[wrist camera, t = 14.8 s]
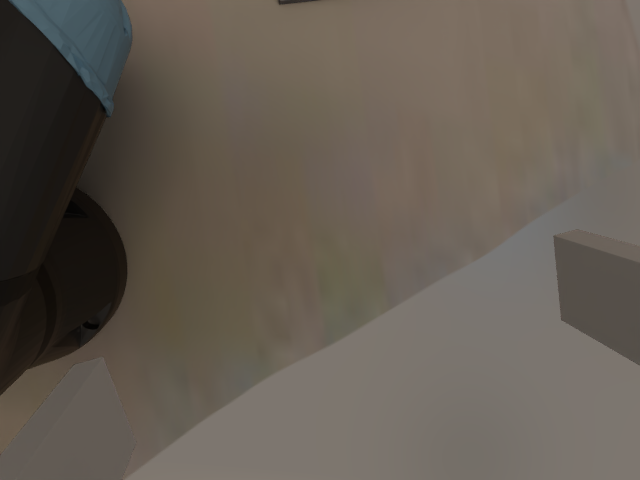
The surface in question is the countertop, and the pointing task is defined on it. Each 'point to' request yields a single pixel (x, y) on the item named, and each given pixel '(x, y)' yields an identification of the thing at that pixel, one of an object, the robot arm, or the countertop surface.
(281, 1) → the rubber mat
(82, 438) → the robot arm
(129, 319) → the countertop surface
